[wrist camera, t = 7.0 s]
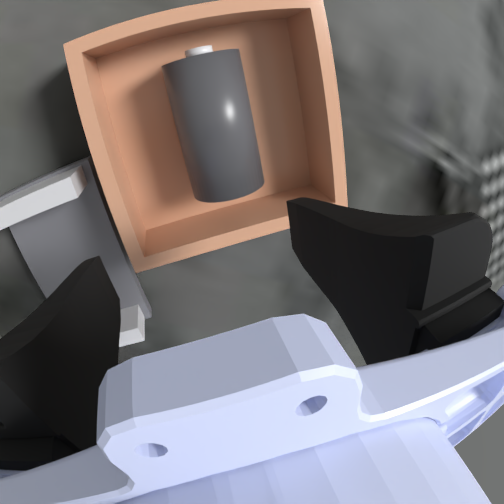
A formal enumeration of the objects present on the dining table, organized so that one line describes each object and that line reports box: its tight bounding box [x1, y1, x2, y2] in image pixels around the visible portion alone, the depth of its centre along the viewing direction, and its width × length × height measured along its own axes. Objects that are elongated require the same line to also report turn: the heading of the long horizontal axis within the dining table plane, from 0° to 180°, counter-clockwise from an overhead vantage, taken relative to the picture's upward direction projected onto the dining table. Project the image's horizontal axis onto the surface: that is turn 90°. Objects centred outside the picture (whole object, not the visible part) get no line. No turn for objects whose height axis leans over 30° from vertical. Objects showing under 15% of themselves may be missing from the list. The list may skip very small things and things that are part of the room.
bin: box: [63, 0, 348, 273], centre depth 16 cm, size 13×13×4 cm
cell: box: [161, 45, 265, 203], centre depth 16 cm, size 8×4×4 cm, turn 10°
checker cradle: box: [0, 156, 152, 347], centre depth 18 cm, size 12×7×4 cm, turn 10°
